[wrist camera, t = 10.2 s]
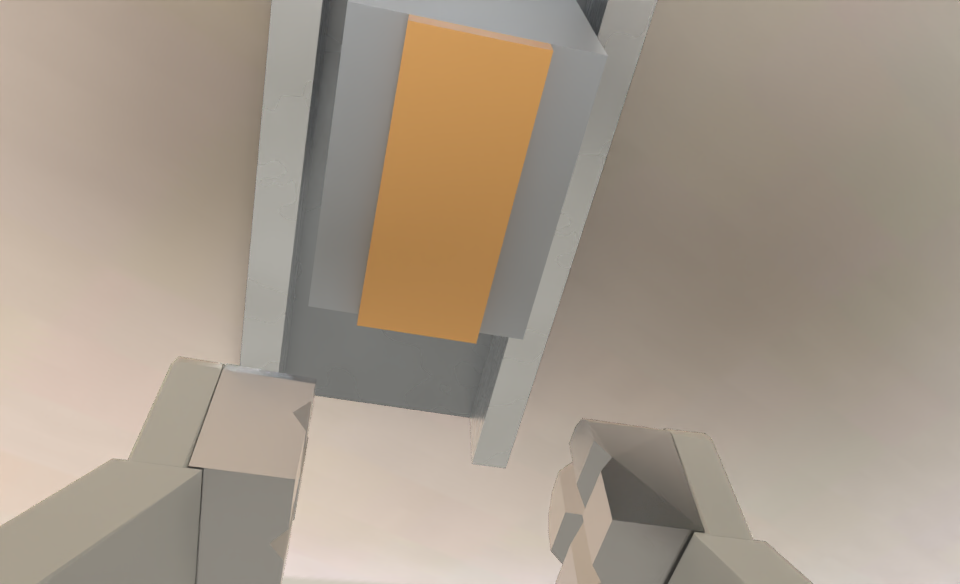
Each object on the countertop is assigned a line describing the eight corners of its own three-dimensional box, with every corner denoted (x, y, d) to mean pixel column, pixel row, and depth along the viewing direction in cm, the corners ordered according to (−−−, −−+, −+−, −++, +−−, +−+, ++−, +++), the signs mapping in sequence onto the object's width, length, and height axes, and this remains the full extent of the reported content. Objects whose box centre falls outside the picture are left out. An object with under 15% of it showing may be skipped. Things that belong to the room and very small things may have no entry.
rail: (744, -377, 16) (797, -402, 14) (504, 405, 26) (510, 469, 24) (331, -504, 15) (310, -554, 13) (248, 368, 25) (228, 431, 23)
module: (565, -18, 19) (612, 62, 14) (505, 215, 22) (524, 350, 17) (371, -62, 18) (345, 7, 13) (337, 185, 21) (305, 317, 16)
